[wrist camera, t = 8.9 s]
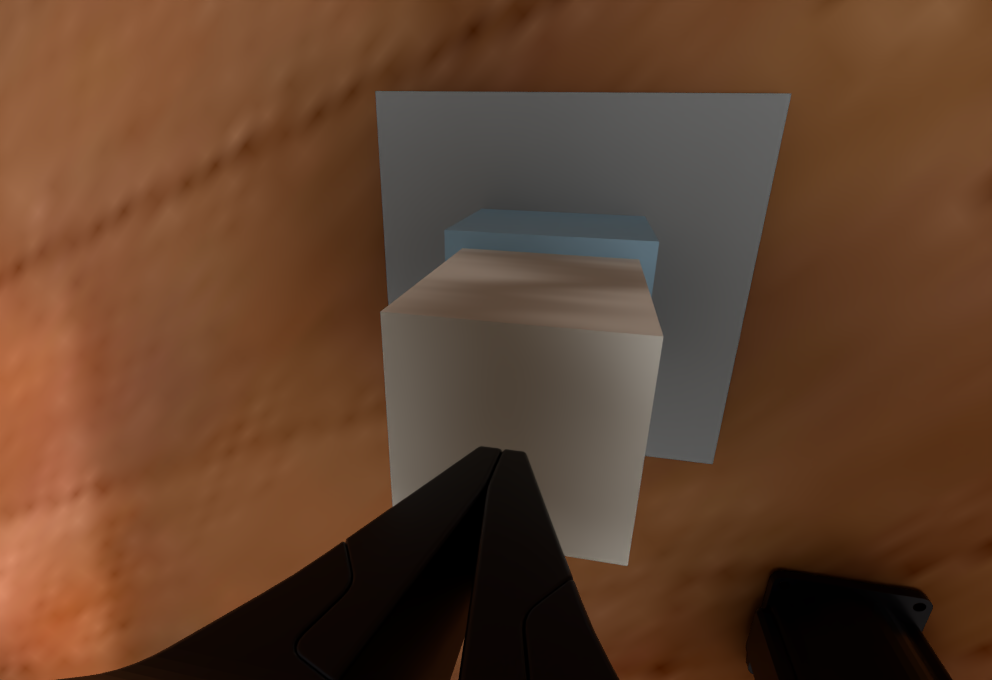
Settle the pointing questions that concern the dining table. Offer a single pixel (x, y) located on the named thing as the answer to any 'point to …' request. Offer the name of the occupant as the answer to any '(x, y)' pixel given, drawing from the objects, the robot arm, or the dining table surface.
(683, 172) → the base mat
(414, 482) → the top brick
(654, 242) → the bottom brick
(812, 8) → the dining table surface
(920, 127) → the dining table surface
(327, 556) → the robot arm
